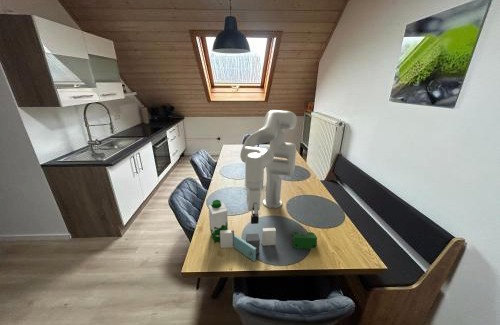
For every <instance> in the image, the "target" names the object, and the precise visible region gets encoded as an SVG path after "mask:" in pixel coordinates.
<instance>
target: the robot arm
mask: <svg viewBox="0 0 500 325" xmlns="http://www.w3.org/2000/svg"><path fill="white" fill-rule="evenodd" d="M297 123H298V117H297V114H295V113H294V112H293V111H290V110H279V109H272V110H269V111H267V112H266V113H265V116H264V118H263V121H262V123H261V126H260V129H258V130H256V131H254V132H253V133H252V134H250V135H249V136H248V137H246V139H245V140H244V142H243V145H242V147H241V150H240V154H239V157H240V161H241V162H243V163H245V164H244V165H245V166H244V167H245V168H244V170H245V171H244V176H245V178H244V185H245V188H246V204H247V210H248V211H249V212H250V211H251V215H250V224H251V225H256V224H257V225H258V224H259V223H260V222H259V219H260V216H259V211H260V209H261V190H262V189H263V187H264V179H265V178H264V175H265V172H264V171H265V170H266V182H265V183H266V184H265V186H266V187H265V188H266V189H265V198H264V199H263V201H262V204H263V206H265V207H266V208H268V209H278V208H280V207H282V205H283V201H282V200H281V194H282V193H281V191H282V183H283V182H282V177H281V176H285V177H291V176H293V175H294V173H295V167H296V158H297V146H296V144H295V143H294V142H286V141H285V139H286V138H285V137H286V132H285V130H294V129H295V128H296V126H297ZM266 143H269V148H265V147H260V146H259V147H257V146H258V144H259V145H261V144H266ZM264 169H265V170H264Z"/></svg>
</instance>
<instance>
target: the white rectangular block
mask: <svg viewBox="0 0 500 325" xmlns="http://www.w3.org/2000/svg"><path fill="white" fill-rule="evenodd" d="M276 234H277V230H276V227H267V228H266V227H265V228H264V227H263V228H262V235H261V236H262V237H261V243H262V244H261V245H262V247H263V246H275V245H276ZM234 235H235V230H234V229H228V230H221V231H220V241H219V242H220V244H219V245H220V248H221V249H222V248H223V249H225V248H234Z"/></svg>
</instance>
